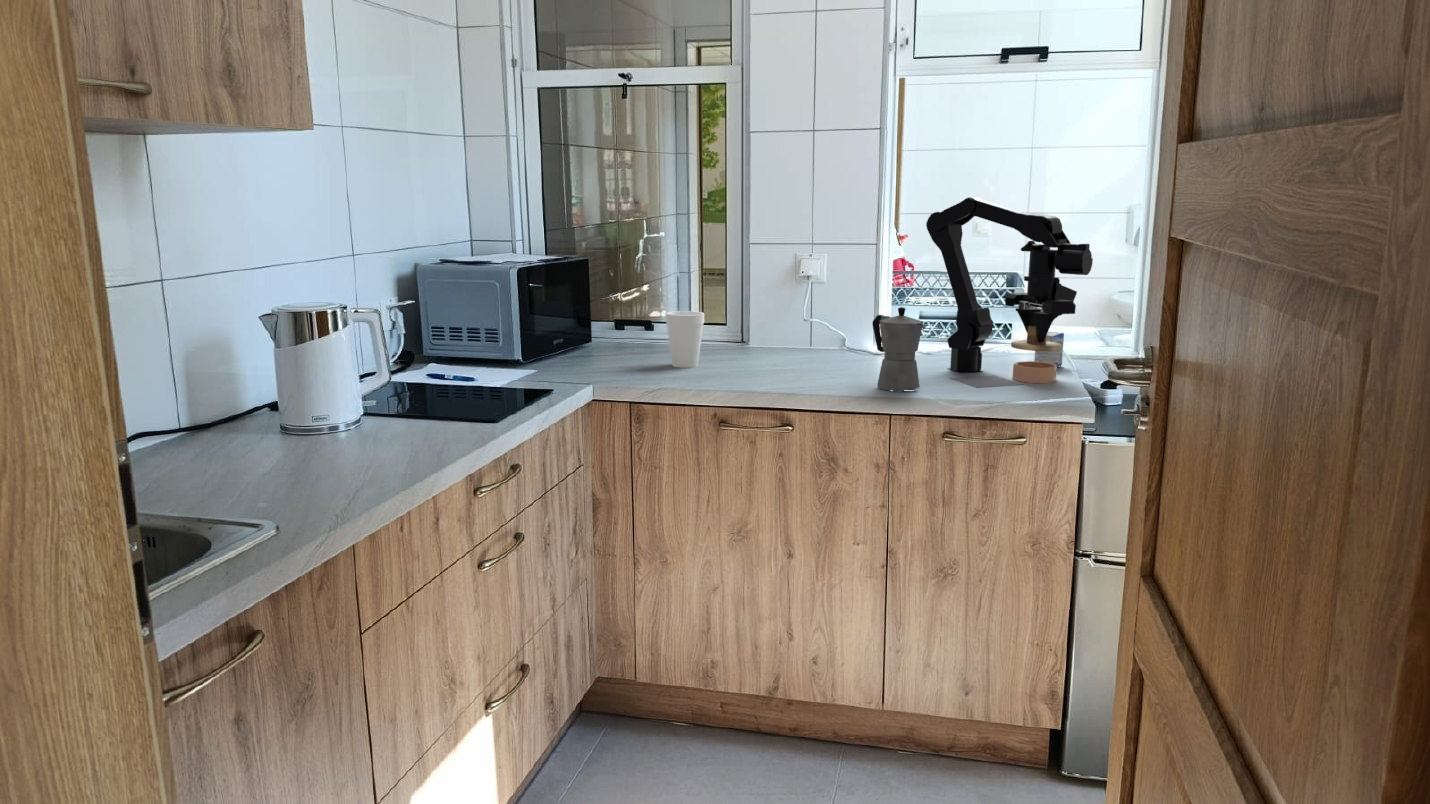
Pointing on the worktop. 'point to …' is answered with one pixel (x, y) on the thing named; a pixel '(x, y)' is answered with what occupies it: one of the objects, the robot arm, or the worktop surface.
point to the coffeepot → (898, 350)
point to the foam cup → (685, 337)
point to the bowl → (1034, 372)
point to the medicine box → (1051, 356)
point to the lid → (1035, 342)
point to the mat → (986, 381)
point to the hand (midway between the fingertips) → (1036, 341)
